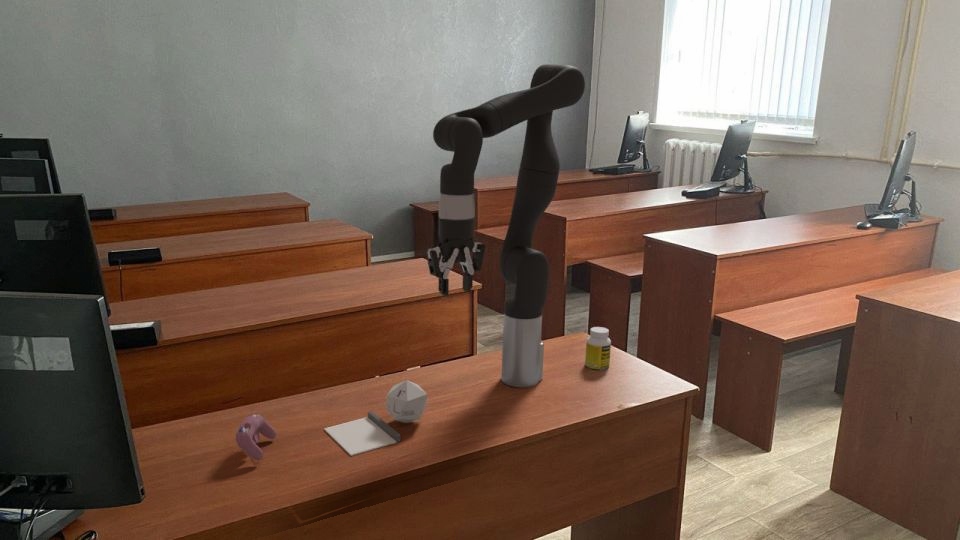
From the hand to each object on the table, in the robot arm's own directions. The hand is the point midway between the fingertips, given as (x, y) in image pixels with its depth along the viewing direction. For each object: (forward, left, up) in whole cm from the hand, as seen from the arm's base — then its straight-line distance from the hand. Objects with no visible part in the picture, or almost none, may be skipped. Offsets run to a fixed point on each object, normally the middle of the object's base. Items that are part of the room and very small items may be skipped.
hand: (455, 292), depth 154 cm
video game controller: (+42, -5, -28) cm, 50 cm away
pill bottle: (-44, 0, -28) cm, 52 cm away
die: (+12, 0, -28) cm, 30 cm away
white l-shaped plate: (+23, 0, -27) cm, 36 cm away
